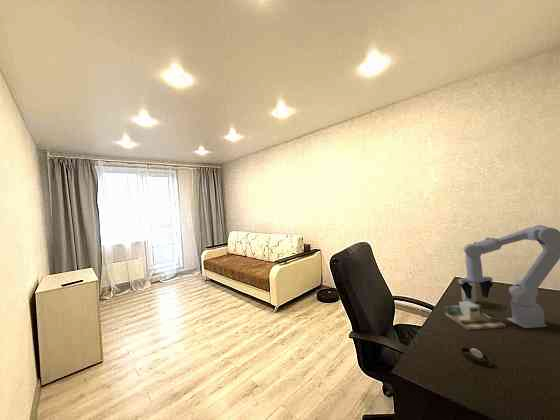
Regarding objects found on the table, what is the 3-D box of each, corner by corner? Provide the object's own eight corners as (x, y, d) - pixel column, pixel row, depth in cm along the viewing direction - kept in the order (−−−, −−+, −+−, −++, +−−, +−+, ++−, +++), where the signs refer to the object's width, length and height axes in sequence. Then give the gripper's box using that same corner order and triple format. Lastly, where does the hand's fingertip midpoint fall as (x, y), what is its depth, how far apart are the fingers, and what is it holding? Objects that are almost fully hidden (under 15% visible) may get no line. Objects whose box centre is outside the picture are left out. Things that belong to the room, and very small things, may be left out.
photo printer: (468, 299, 125) (466, 277, 125) (478, 301, 121) (475, 279, 121) (461, 305, 119) (459, 282, 119) (471, 307, 116) (469, 284, 116)
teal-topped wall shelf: (478, 312, 110) (477, 303, 110) (505, 327, 96) (504, 316, 96) (445, 314, 111) (444, 305, 111) (468, 329, 97) (467, 319, 97)
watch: (491, 362, 77) (490, 352, 77) (487, 369, 75) (486, 358, 75) (464, 352, 84) (463, 342, 84) (459, 357, 81) (458, 347, 81)
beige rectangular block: (469, 313, 108) (468, 301, 108) (481, 319, 102) (479, 306, 102) (460, 313, 109) (459, 301, 109) (471, 320, 102) (469, 307, 102)
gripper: (482, 265, 110) (484, 293, 110) (452, 268, 111) (455, 295, 111) (495, 269, 103) (498, 298, 103) (463, 272, 104) (466, 301, 104)
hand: (476, 297), depth 106 cm, fingers open, 7 cm apart
